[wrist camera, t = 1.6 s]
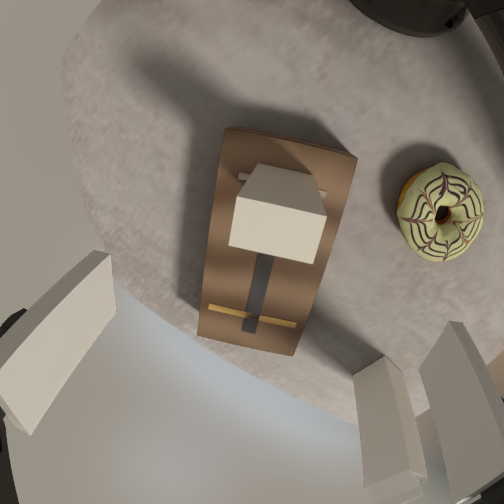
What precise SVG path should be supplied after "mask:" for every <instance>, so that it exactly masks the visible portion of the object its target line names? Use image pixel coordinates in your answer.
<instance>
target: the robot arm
mask: <svg viewBox="0 0 504 504" xmlns="http://www.w3.org/2000/svg"><path fill="white" fill-rule="evenodd" d="M350 1H351V2H352V3H353V4H354V5H355V6H356V7H357V8H358V9H359V10H360V11H361V12H363V13H364V14H365V15H366V16H368V17H369V18H371V19H372V20H374V21H375V22H377V23H379V24H380V25H382V26H384V27H386V28H388V29H390V30H393V31H395V32H398V33H401V34H404V35H408V36H414V37H435V36H439V35H442V34H444V33H447V32H449V31H451V30H453V29H455V28H456V27H458V26H459V25H460V24H461V23H462V22H463V21H464V20H465V18H466V16H467V15H468V13H469V11H470V13H471V15H472V16H473V18H474V20H475V21H476V23H477V25H478V26H479V28H480V30H481V31H482V33H483V35H484V37H485V39H486V40H487V42H488V44H489V46H490V48H491V50H492V52H493V54H494V56H495V58H496V60H497V62H498V64H499V66H500V68H501V70H502V73H503V75H504V0H350ZM115 313H116V306H115V298H114V288H113V279H112V268H111V256H110V254H108V253H104V252H100V251H96V250H93V251H92V252H91V253H90V254H89V255H88V256H86V257H85V258H84V259H83V260H82V261H81V262H79V263H78V264H77V265H76V266H75V267H74V268H73V269H71V270H70V271H69V272H68V273H67V274H66V275H65V276H63V277H62V278H61V279H60V280H59V281H58V282H57V283H56V284H55V285H54V286H53V287H51V289H49V290H48V291H47V292H46V293H45V294H44V295H43V296H42V297H41V298H40V299H39V300H38V301H37V302H36V303H35V304H34V305H33V306H31V307H30V308H29V309H28V310H26V309H24V308H23V309H21V310H20V311H18V312H16V313H14V314H12V315H11V316H10V317H9V318H8V319H7V320H6V321H5V322H4V323H3V324H2V326H1V327H0V504H19V502H18V497H17V493H16V490H15V485H14V480H13V475H12V470H11V465H10V458H9V452H8V445H7V437H6V427H5V424H4V421H3V418H4V417H5V415H7V417H8V418H9V419H10V420H11V422H12V423H13V424H14V425H15V426H17V427H18V428H20V429H21V430H22V431H24V432H26V433H27V434H29V435H30V436H31V434H32V433H33V431H34V429H35V428H36V426H37V425H38V423H39V421H40V420H41V418H42V417H43V415H44V414H45V412H46V410H47V409H48V407H49V406H50V404H51V403H52V401H53V400H54V398H55V397H56V395H57V394H58V392H59V391H60V389H61V388H62V386H63V385H64V383H65V382H66V380H67V379H68V377H69V376H70V375H71V373H72V372H73V370H74V369H75V367H76V366H77V364H78V363H79V362H80V360H81V359H82V358H83V356H84V355H85V353H86V352H87V351H88V349H89V348H90V346H91V345H92V344H93V342H94V341H95V340H96V338H97V337H98V336H99V334H100V333H101V332H102V330H103V329H104V328H105V326H106V324H108V322H109V321H110V320H111V318H112V317H113V316H114V314H115ZM419 372H420V375H421V378H422V381H423V384H424V388H425V391H426V394H427V397H428V401H429V404H430V407H431V411H432V414H433V417H434V421H435V425H436V429H437V432H438V436H439V441H440V444H441V449H442V453H443V457H444V462H445V466H446V471H447V476H448V481H449V486H450V492H451V498H452V504H459V503H462V502H466V501H469V500H470V499H472V498H473V497H475V496H477V495H478V494H480V493H481V498H480V499H478V500H477V501H475V502H473V503H472V504H504V399H503V398H502V397H501V396H500V394H499V392H498V390H497V387H496V385H495V383H494V381H493V379H492V377H491V375H490V373H489V371H488V369H487V367H486V365H485V363H484V361H483V359H482V357H481V355H480V353H479V351H478V349H477V348H476V346H475V344H474V342H473V340H472V339H471V337H470V335H469V333H468V331H467V330H466V328H465V326H464V325H463V323H461V322H454V321H448V323H447V325H446V327H445V328H444V330H443V332H442V333H441V335H440V337H439V338H438V340H437V342H436V343H435V345H434V347H433V348H432V350H431V351H430V353H429V354H428V356H427V357H426V359H425V361H424V362H423V364H422V365H421V366H420V368H419Z"/></svg>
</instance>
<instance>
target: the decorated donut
mask: <svg viewBox="0 0 504 504" xmlns="http://www.w3.org/2000/svg"><path fill="white" fill-rule="evenodd" d="M441 205H442V206H447V208H448V214H447V216H446V218H444V219H442V220H440V221H438V220H437V221H436V220H435V216H436V212H437V209H438V207H439V206H441ZM483 210H484V208H483V202H482V197H481V191H480V189H479V187H478V185H476V184H475V183H474V182H473V181H472V179H471V177H470V175H468V174H466V173H464V172H462V171H460V170H459V169H457V168H456V167H455V166H453V165H451V164H448V163H438V164H436V165H435V166H434V167H429V168H427V169H424V170H422V171H420V172H418V173H416V174H415V175H413V176H412V177H411V178H410V179H408V181H407V182H406V183H405V184H404V186H403V188H402V192H401V194H400V196H399V200H398V206H397V216H398V219H399V223H400V227H401V231H402V234H403V236H404V238H405V240H406V241H407V243H408V244H409V246H410V247H411V248H412V249H413V250H414V251H415V252H416V253H417V254H418V255H420V256H421V257H423V258H425V259H427V260H429V261H434V262H437V261H447V260H450V259H454V258H455V257H457V256H459V255H460V254H461V253H463V252H464V251H465V250H466V249H467V248H468V247H469V245H470V244H471V243H472V241H473V240H474V239H475V237H476V236H477V235H478V233H479V231H480V229H481V227H482V223H483V215H484V211H483Z"/></svg>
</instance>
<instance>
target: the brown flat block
mask: <svg viewBox="0 0 504 504" xmlns="http://www.w3.org/2000/svg"><path fill="white" fill-rule="evenodd" d="M357 160H358V158H356V157H355V156H354V155H352V154H351V153H349V152H345V151H342V150H338V149H334V148H331V147H327V146H323V145H319V144H315V143H311V142H307V141H303V140H298V139H294V138H289V137H285V136H280V135H275V134H271V133H266V132H261V131H255V130H250V129H244V128H239V127H229V128H226V129H225V130H224V136H223V142H222V148H221V154H220V160H219V166H218V173H217V179H216V186H215V192H214V199H213V206H212V213H211V220H210V228H209V235H208V243H207V250H206V258H205V266H204V275H203V283H202V292H201V301H200V310H199V320H198V330H197V335H198V336H202V337H206V338H210V339H214V340H218V341H222V342H226V343H231V344H235V345H239V346H244V347H248V348H253V349H258V350H262V351H267V352H272V353H277V354H282V355H288V356H293V355H294V353H295V350H296V347H297V345H298V342H299V340H300V337H301V335H302V332H303V329H304V327H305V324H306V321H307V319H308V316H309V313H310V310H311V308H312V305H313V302H314V299H315V296H316V294H317V291H318V288H319V285H320V282H321V279H322V276H323V273H324V270H325V268H326V265H327V261H328V258H329V255H330V252H331V249H332V246H333V243H334V240H335V237H336V233H337V230H338V227H339V224H340V220H341V217H342V214H343V210H344V207H345V204H346V200H347V197H348V193H349V190H350V186H351V183H352V179H353V175H354V172H355V168H356V164H357ZM258 163H260V164H265V165H270V166H274V167H279V168H283V169H288V170H292V171H297V172H301V173H305V174H309V175H313V176H314V177H315V180H316V183H317V187H318V190H319V193H320V196H321V199H322V202H323V205H324V209H325V212H326V215H327V218H326V222H325V225H324V229H323V232H322V236H321V239H320V242H319V246H318V249H317V252H316V255H315V259H314V262H313V264H309V263H305V262H300V261H296V260H291V259H287V258H282V257H278V256H273V255H269V254H264V253H260V252H255V251H251V250H246V249H242V248H237V247H233V246H228V245H229V239H230V233H231V227H232V221H233V215H234V210H235V204H236V198H237V195H238V194H239V192H240V191H241V189H242V187H243V186H244V184H245V183H246V181H247V180H248V178H249V177H250V175H251V174H252V172H253V170H254V169H255V167H256V166H257V164H258Z"/></svg>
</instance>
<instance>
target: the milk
mask: <svg viewBox="0 0 504 504" xmlns="http://www.w3.org/2000/svg"><path fill="white" fill-rule="evenodd" d="M353 383H354V390H355V397H356V405H357V413H358V422H359V431H360V440H361V451H362V463H363V476H364V487H365V489H366V490H367V491H368V492H369V494H370V495H371V496H372V497H373V498H374V499H375V501H376V503H377V504H403V503H406V502H409V501H411V500H414V499H416V498H419V497H421V496H422V494H423V492H422V486H421V485H422V484H423V482H424V481H425V479H426V478H427V477H428V476H427V471H426V466H425V460H424V456H423V451H422V446H421V442H420V437H419V433H418V429H417V424H416V420H415V416H414V412H413V408H412V405H411V401H410V397H409V394H408V390H407V386H406V383H405V379H404V376H403V373H402V372H401V371H400V370H399V369H398V368H397V367H396V366H395V365H394V364H393V363H392V362H391V361H390V360H389V359H388V358H386V357H385V356H383V357H382V358H380V359H379V360H377V361H375V362H374V363H372V364H371V365H369V366H367V367H366V368H364V369H363V370H361V371H359V372H358V373H356V374H354V375H353Z"/></svg>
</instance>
